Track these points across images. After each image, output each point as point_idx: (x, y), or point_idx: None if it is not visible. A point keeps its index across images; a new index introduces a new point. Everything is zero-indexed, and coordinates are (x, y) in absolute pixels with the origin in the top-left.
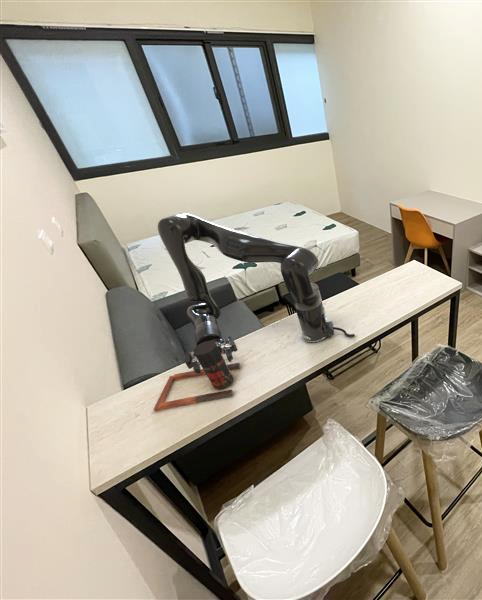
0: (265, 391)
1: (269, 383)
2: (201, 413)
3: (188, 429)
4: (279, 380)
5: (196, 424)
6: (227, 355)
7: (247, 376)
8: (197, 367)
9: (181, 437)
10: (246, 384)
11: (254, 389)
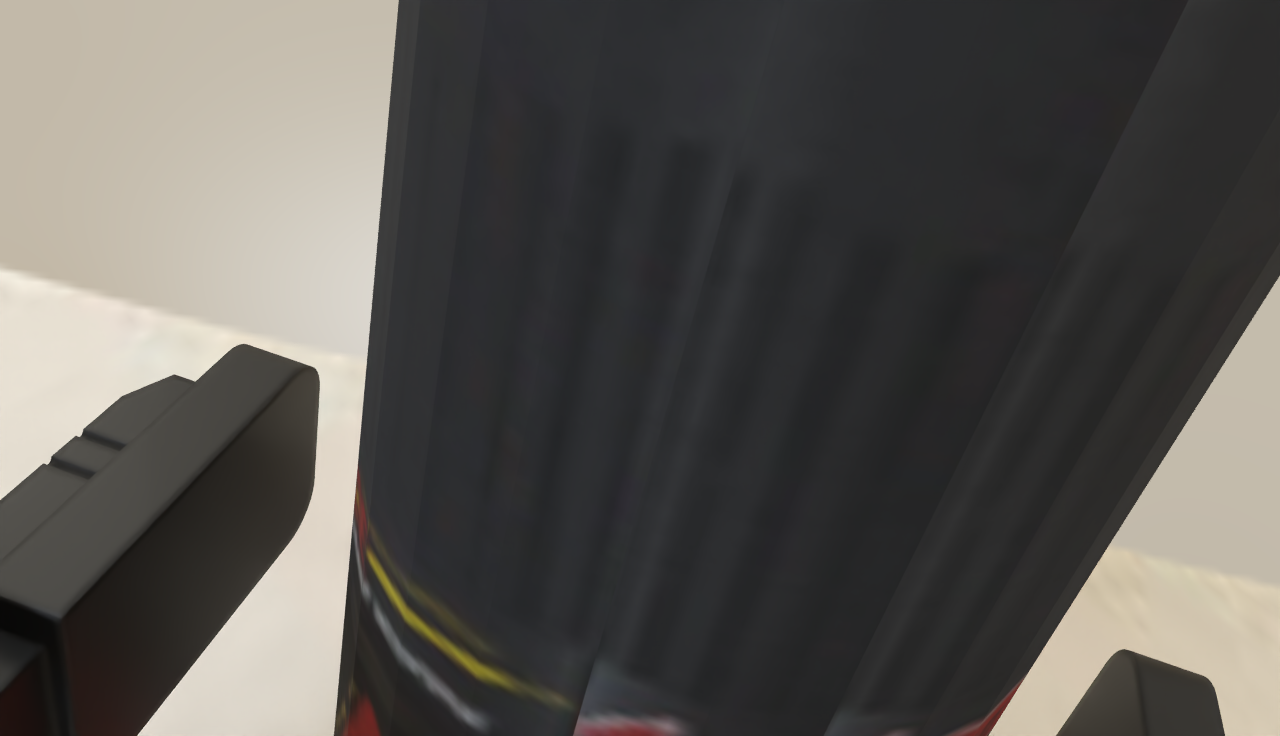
0: (272, 342)
1: (130, 376)
2: (1032, 689)
3: (1187, 615)
4: (23, 318)
5: (1098, 600)
6: (238, 384)
7: (149, 729)
8: (1156, 686)
9: (1254, 590)
10: (312, 599)
11: (321, 451)
